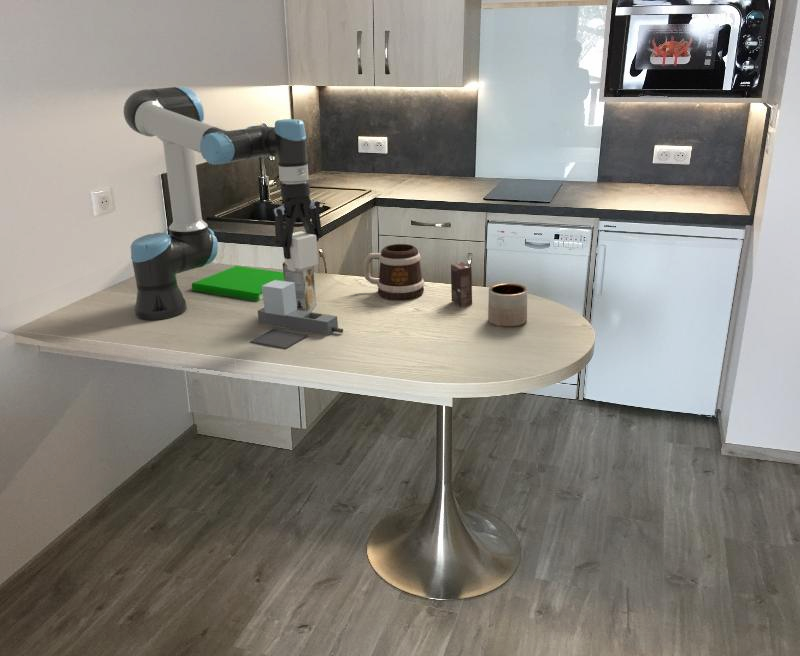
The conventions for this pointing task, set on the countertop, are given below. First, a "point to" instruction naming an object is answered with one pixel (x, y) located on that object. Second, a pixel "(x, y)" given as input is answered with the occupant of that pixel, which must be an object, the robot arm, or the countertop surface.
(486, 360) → the countertop surface
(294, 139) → the robot arm
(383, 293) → the mug
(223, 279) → the book
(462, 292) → the box
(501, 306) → the planter
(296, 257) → the block
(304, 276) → the coffee box
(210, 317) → the countertop surface
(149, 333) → the countertop surface
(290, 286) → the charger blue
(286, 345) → the mat
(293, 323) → the power strip
